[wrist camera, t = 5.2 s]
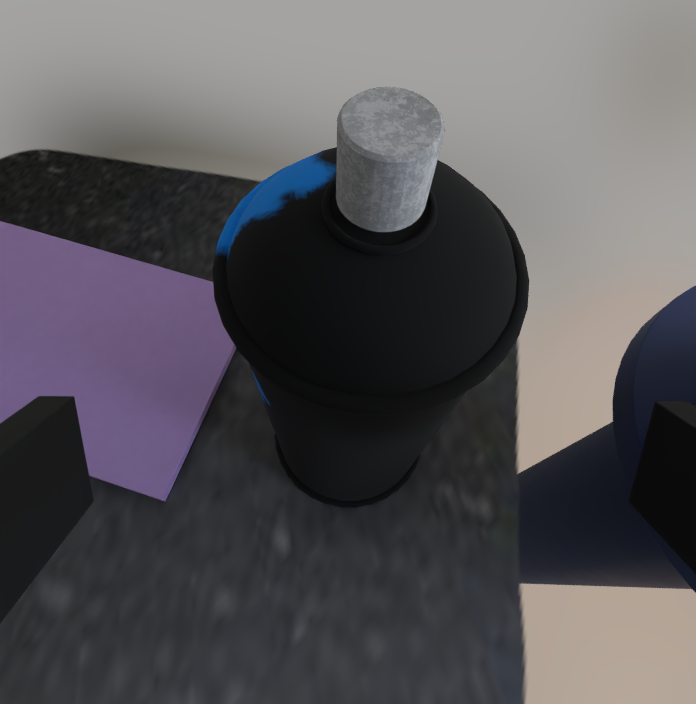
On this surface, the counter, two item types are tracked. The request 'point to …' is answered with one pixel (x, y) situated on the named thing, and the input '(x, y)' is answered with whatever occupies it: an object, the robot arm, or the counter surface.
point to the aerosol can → (368, 297)
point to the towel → (110, 352)
